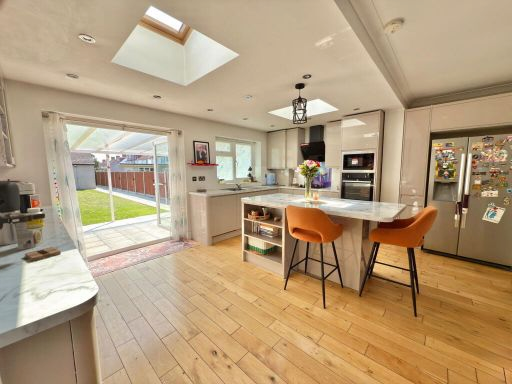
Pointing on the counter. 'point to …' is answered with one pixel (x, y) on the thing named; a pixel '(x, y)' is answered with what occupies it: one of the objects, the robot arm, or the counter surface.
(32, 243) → the coffee box
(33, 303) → the counter surface
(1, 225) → the robot arm
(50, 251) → the walnut trivet
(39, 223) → the supplement bottle
